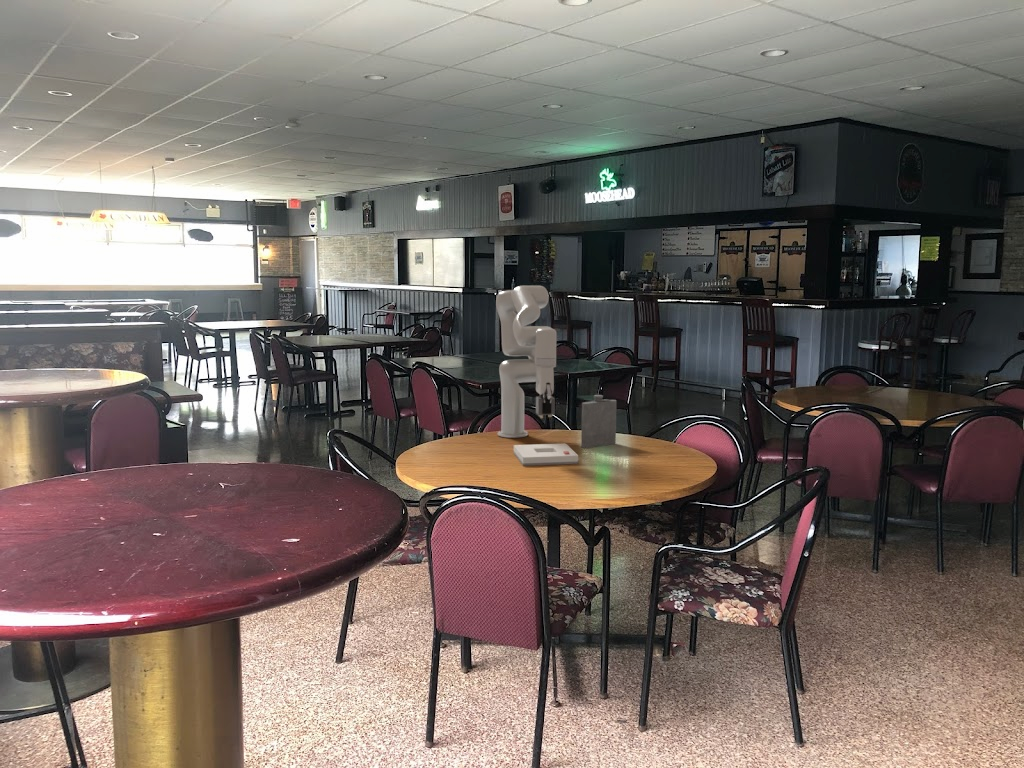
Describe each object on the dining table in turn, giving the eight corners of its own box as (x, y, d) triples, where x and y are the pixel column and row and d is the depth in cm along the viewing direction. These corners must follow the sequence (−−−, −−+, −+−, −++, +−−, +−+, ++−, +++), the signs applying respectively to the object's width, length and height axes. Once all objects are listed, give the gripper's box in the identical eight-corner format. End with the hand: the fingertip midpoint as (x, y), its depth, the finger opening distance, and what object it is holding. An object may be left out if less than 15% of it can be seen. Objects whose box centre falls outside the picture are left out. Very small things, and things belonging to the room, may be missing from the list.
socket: (513, 452, 302) (513, 443, 302) (565, 451, 305) (565, 441, 305) (523, 465, 283) (523, 455, 282) (578, 463, 286) (578, 453, 285)
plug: (535, 415, 294) (535, 396, 293) (551, 415, 295) (551, 396, 294) (538, 418, 289) (538, 398, 288) (554, 418, 290) (554, 398, 289)
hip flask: (584, 448, 310) (585, 397, 307) (578, 446, 313) (579, 396, 310) (617, 444, 318) (618, 394, 315) (610, 442, 321) (611, 393, 318)
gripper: (531, 360, 297) (530, 408, 299) (540, 365, 280) (539, 416, 283) (550, 359, 298) (550, 408, 300) (561, 365, 281) (560, 416, 284)
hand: (545, 411), depth 291 cm, fingers closed on plug, 5 cm apart
